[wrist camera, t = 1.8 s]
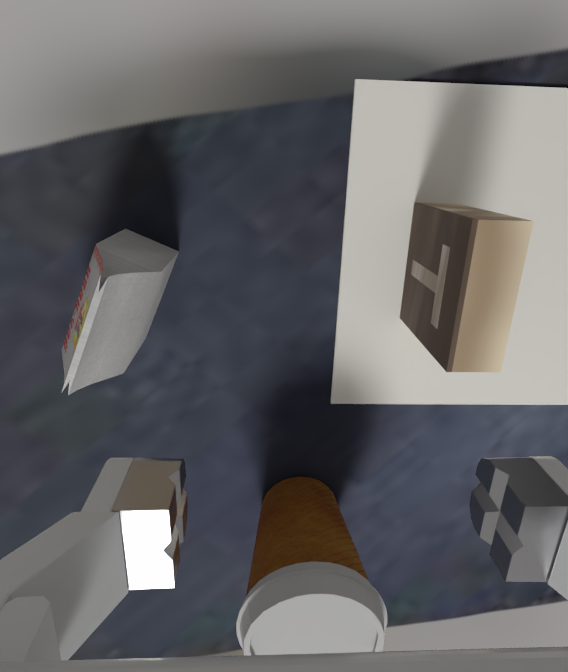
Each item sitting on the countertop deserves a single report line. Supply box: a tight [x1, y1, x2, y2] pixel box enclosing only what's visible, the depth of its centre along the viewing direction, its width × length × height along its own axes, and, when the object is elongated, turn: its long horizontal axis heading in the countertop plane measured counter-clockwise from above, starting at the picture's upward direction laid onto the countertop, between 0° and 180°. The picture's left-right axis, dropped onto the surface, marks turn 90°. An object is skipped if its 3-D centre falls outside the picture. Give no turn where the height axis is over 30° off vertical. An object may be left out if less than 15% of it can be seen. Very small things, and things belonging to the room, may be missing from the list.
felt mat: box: [331, 79, 568, 405], centre depth 32 cm, size 20×22×1 cm
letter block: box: [400, 203, 534, 372], centre depth 28 cm, size 3×8×9 cm, turn 178°
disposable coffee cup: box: [236, 477, 387, 656], centre depth 34 cm, size 10×10×12 cm
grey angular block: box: [62, 229, 179, 396], centre depth 27 cm, size 4×7×10 cm, turn 155°
